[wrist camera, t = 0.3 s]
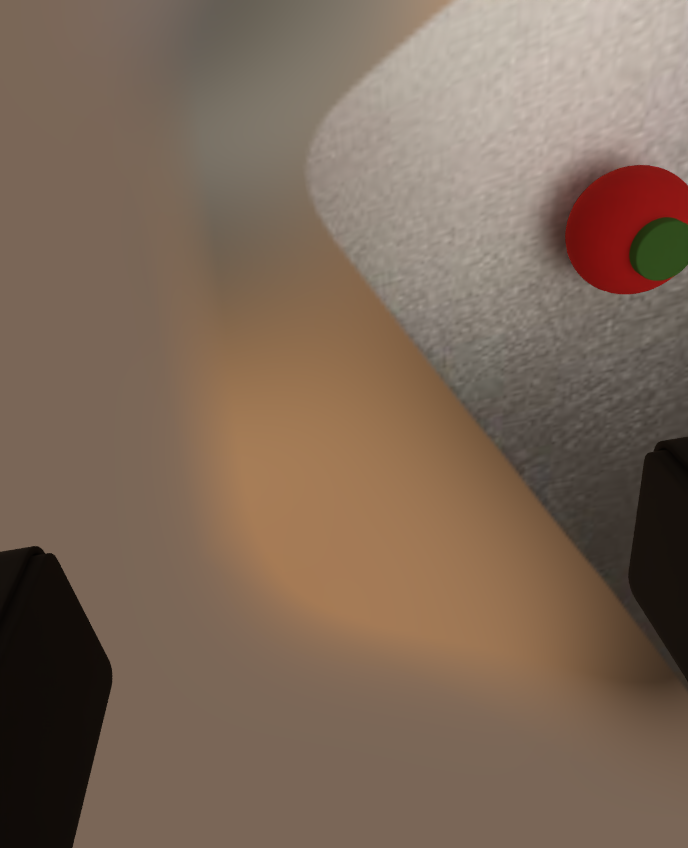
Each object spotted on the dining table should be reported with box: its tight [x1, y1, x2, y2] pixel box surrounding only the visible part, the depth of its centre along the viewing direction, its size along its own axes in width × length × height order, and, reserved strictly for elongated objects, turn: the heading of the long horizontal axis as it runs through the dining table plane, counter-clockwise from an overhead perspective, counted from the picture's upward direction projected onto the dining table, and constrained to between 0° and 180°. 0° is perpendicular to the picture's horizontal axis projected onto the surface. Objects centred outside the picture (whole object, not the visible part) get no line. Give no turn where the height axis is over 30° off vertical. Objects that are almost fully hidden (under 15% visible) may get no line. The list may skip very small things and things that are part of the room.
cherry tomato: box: [565, 165, 688, 294], centre depth 21 cm, size 4×4×4 cm
